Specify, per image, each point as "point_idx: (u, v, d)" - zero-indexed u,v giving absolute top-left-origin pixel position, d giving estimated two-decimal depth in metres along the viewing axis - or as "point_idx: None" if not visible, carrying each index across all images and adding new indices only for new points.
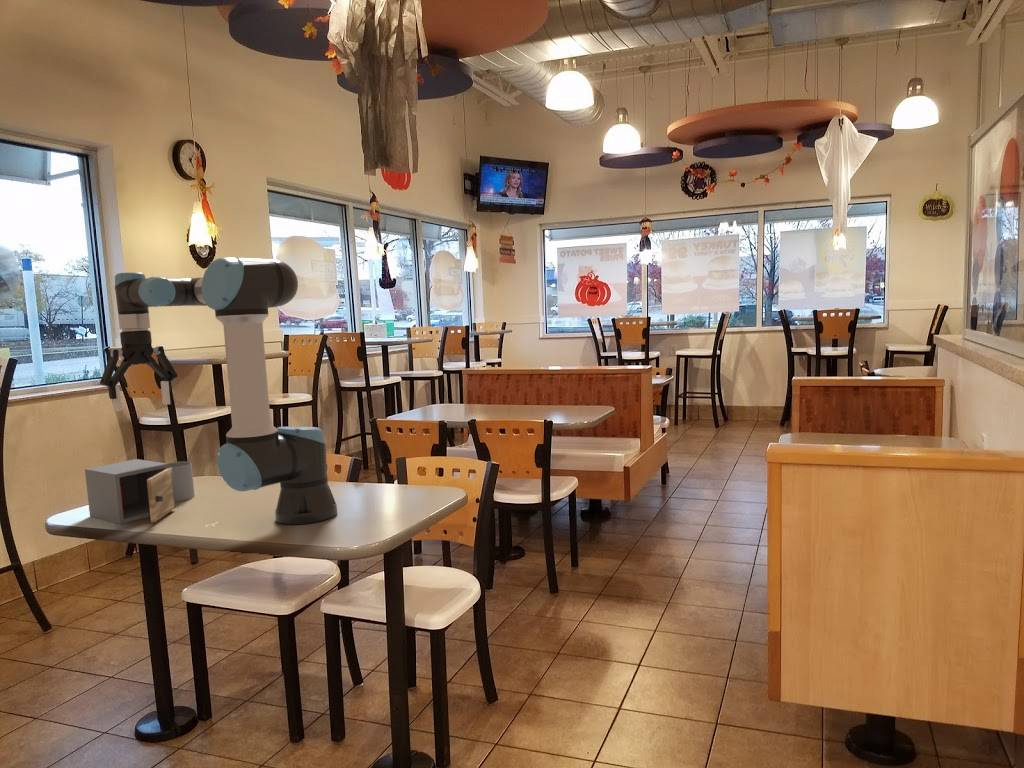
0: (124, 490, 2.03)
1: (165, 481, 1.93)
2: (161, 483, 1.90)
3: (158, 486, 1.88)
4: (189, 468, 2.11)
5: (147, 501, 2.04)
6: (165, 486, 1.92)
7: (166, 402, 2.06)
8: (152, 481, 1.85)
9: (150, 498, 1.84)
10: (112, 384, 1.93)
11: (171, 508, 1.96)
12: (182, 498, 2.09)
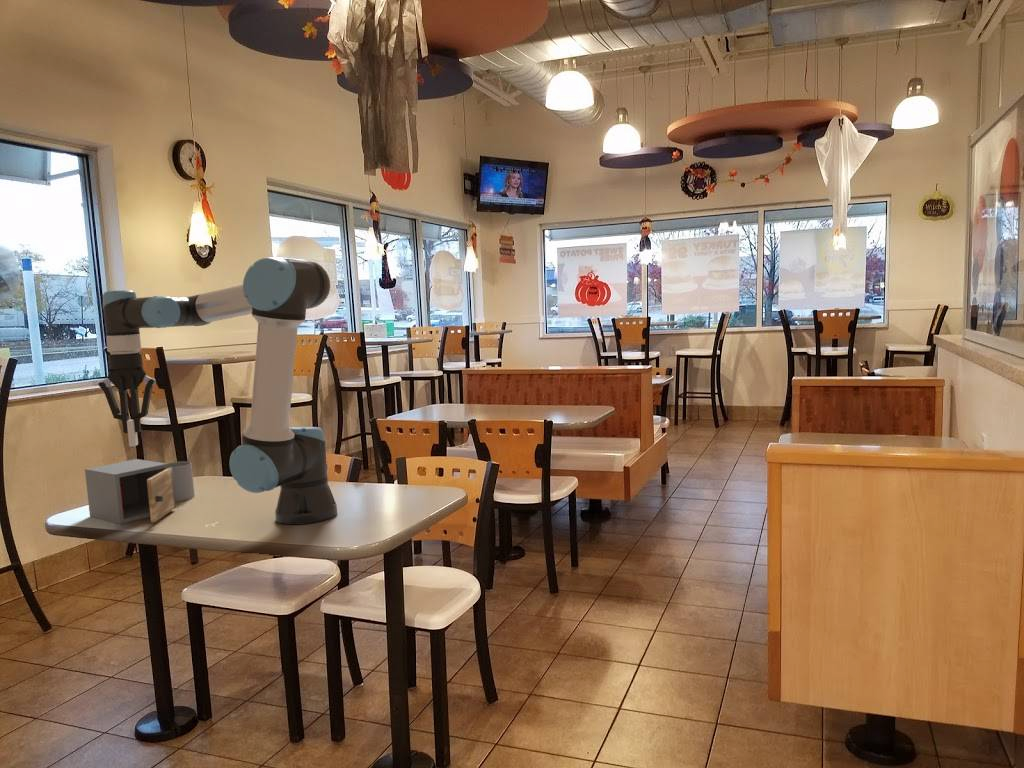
0: (124, 490, 2.03)
1: (165, 481, 1.93)
2: (161, 483, 1.90)
3: (158, 486, 1.88)
4: (189, 468, 2.11)
5: (147, 501, 2.04)
6: (165, 486, 1.92)
7: None
8: (152, 481, 1.85)
9: (150, 498, 1.84)
10: (122, 419, 1.83)
11: (171, 508, 1.96)
12: (182, 498, 2.09)
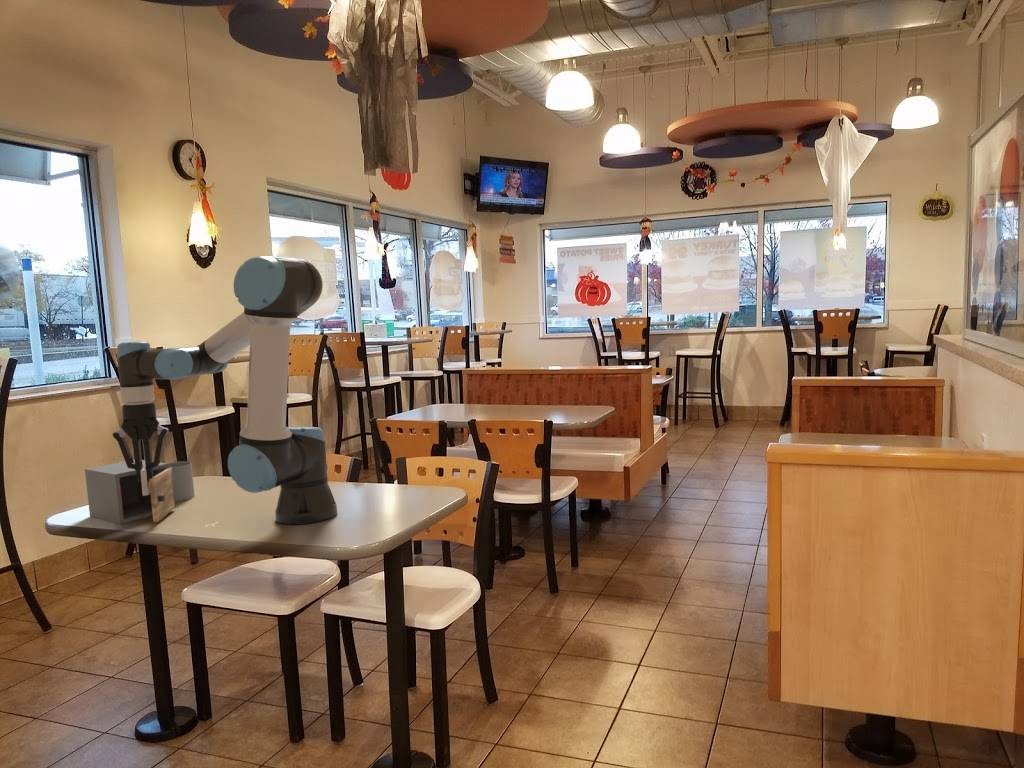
0: (124, 490, 2.03)
1: (166, 481, 1.93)
2: (162, 483, 1.90)
3: (160, 486, 1.88)
4: (189, 468, 2.11)
5: (147, 501, 2.04)
6: (166, 486, 1.92)
7: None
8: (155, 480, 1.85)
9: (152, 498, 1.84)
10: (136, 468, 1.85)
11: (171, 508, 1.96)
12: (182, 498, 2.09)
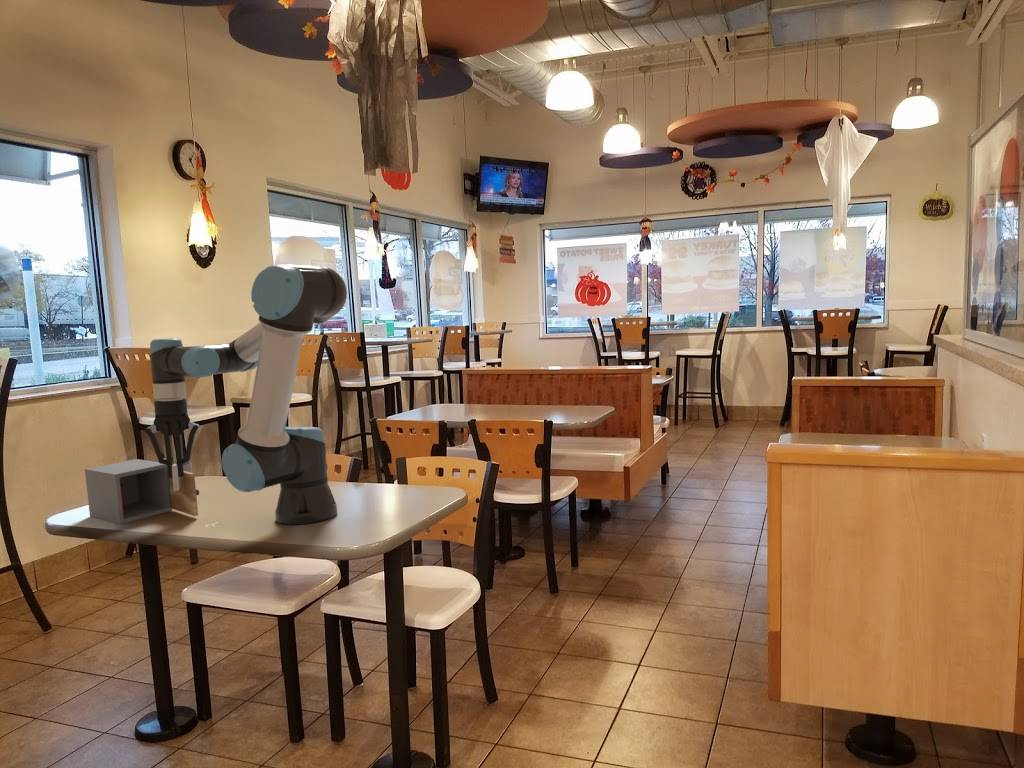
0: (124, 490, 2.03)
1: None
2: None
3: None
4: (189, 468, 2.11)
5: (147, 501, 2.04)
6: None
7: None
8: None
9: (193, 492, 1.88)
10: (168, 464, 1.87)
11: None
12: None
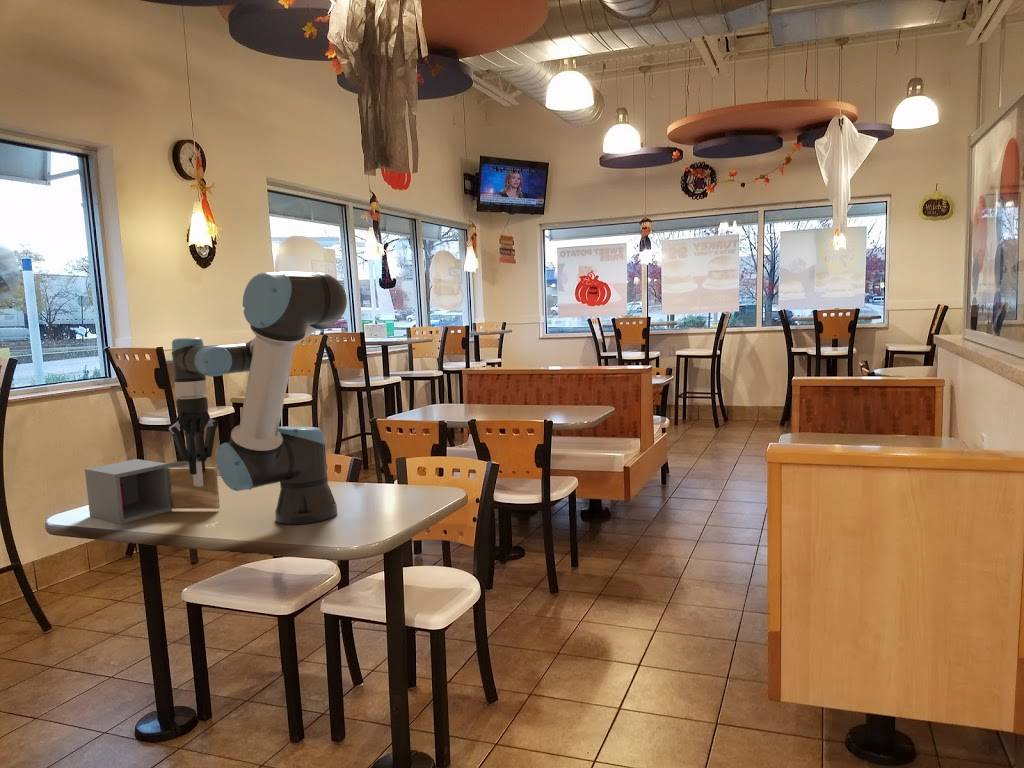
0: (124, 490, 2.03)
1: None
2: None
3: None
4: None
5: (147, 501, 2.04)
6: None
7: None
8: None
9: (216, 485, 1.95)
10: (193, 460, 1.90)
11: None
12: None
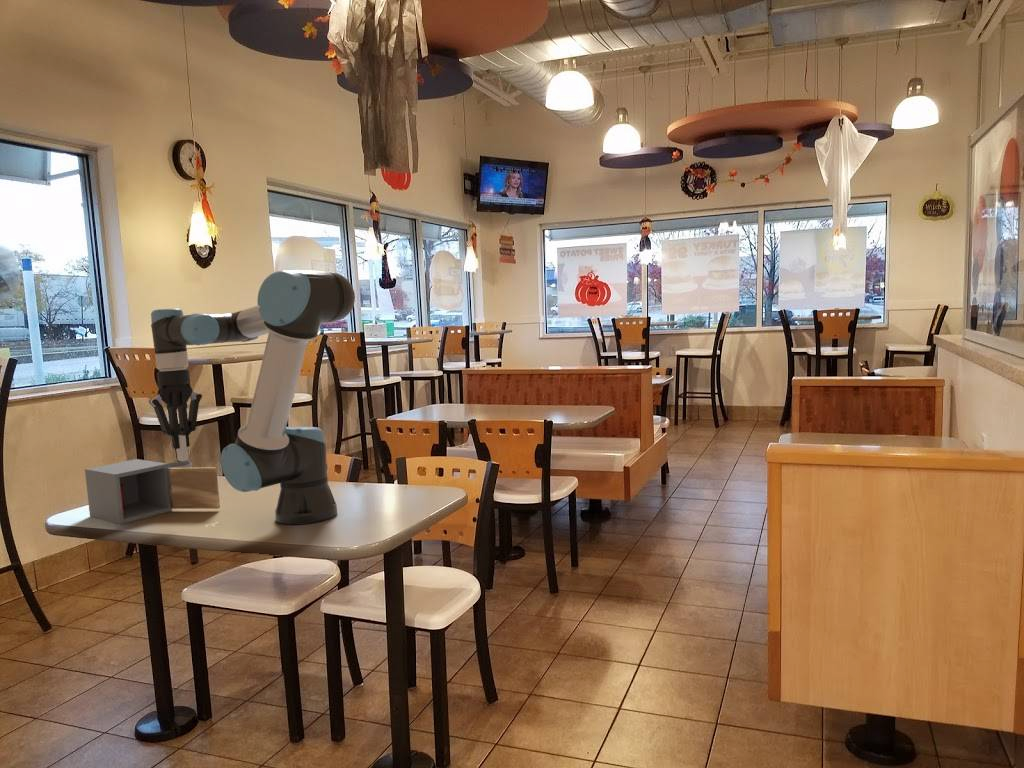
0: (124, 490, 2.03)
1: None
2: None
3: None
4: None
5: (147, 501, 2.04)
6: None
7: None
8: None
9: (216, 485, 1.95)
10: (175, 434, 1.86)
11: None
12: None
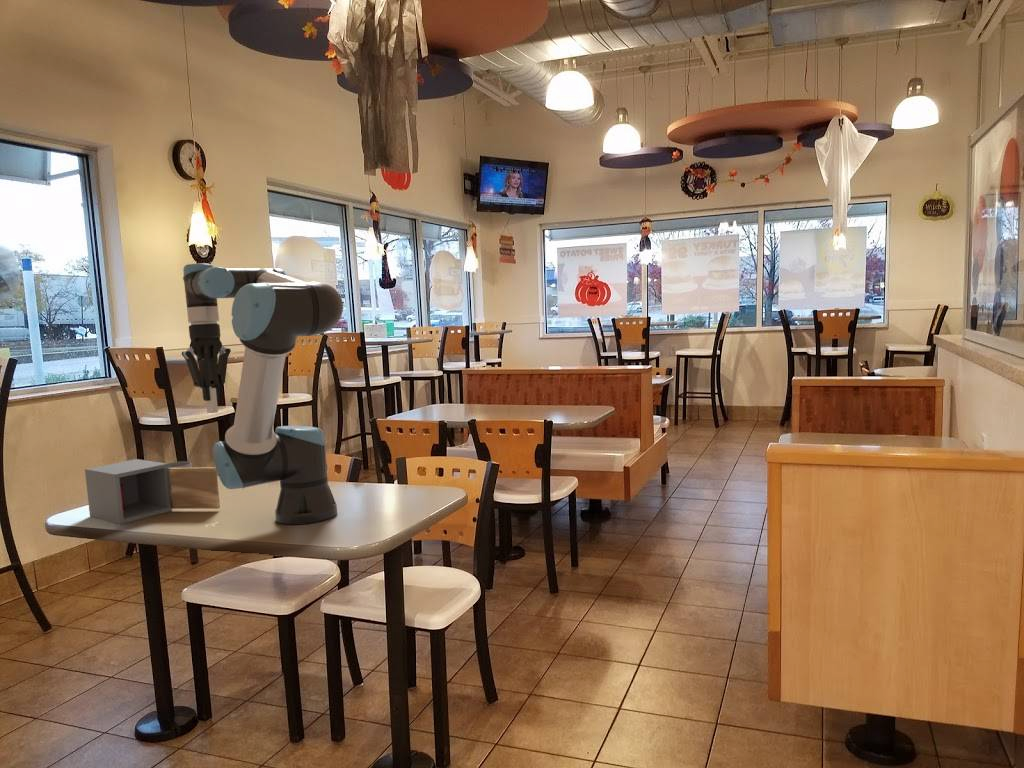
0: (124, 490, 2.03)
1: None
2: None
3: None
4: None
5: (147, 501, 2.04)
6: None
7: None
8: None
9: (216, 485, 1.95)
10: (207, 386, 1.91)
11: None
12: None
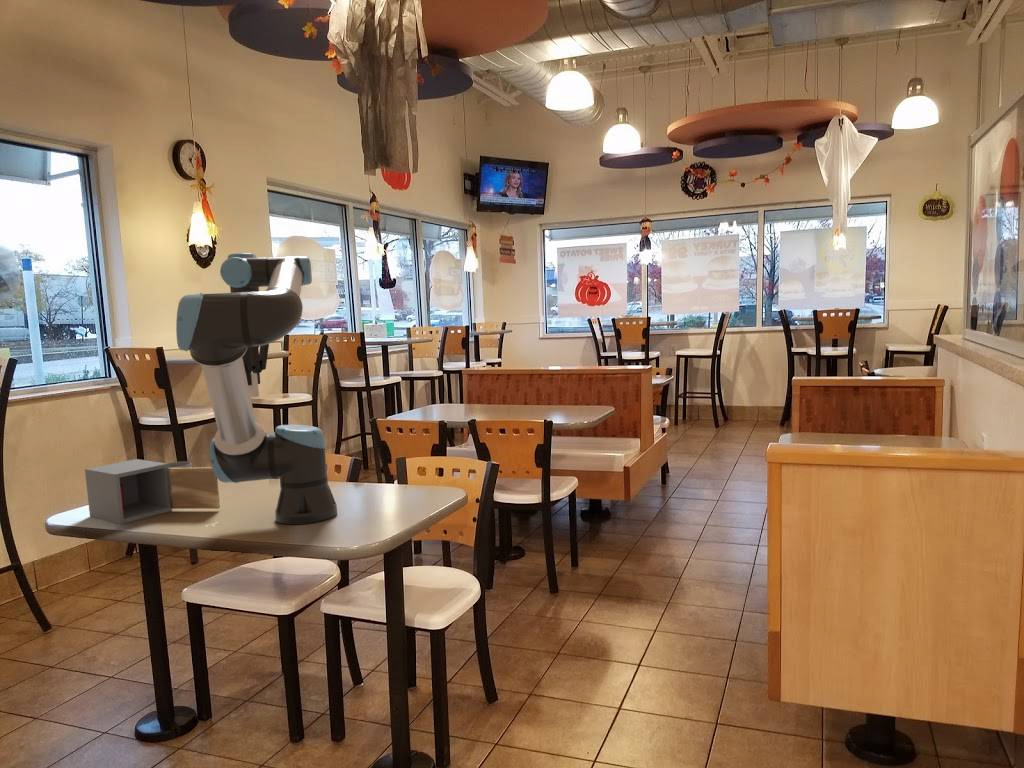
0: (124, 490, 2.03)
1: None
2: None
3: None
4: None
5: (147, 501, 2.04)
6: None
7: None
8: None
9: (216, 485, 1.95)
10: (248, 372, 1.99)
11: None
12: None
